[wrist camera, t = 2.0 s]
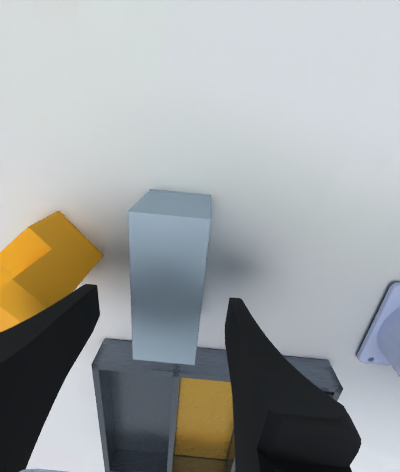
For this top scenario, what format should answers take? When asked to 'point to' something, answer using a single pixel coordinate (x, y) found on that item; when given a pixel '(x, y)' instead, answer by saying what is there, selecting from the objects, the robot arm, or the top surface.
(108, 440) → the grey compartment tray
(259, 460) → the robot arm
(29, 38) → the top surface
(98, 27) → the top surface
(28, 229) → the pipe clamp
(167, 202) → the tall blue-grey block
